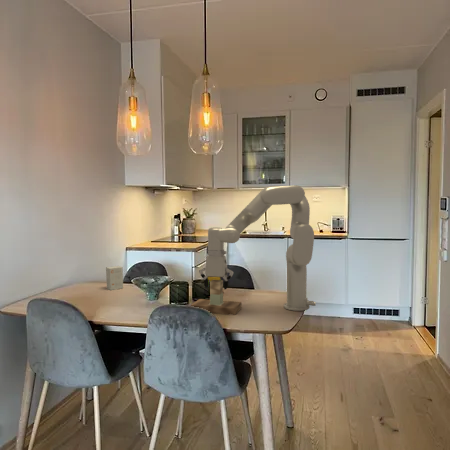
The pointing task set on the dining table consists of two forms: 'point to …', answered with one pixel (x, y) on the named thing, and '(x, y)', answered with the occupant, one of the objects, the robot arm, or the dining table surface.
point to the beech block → (216, 287)
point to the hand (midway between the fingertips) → (216, 288)
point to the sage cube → (216, 299)
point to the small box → (114, 277)
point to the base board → (218, 306)
